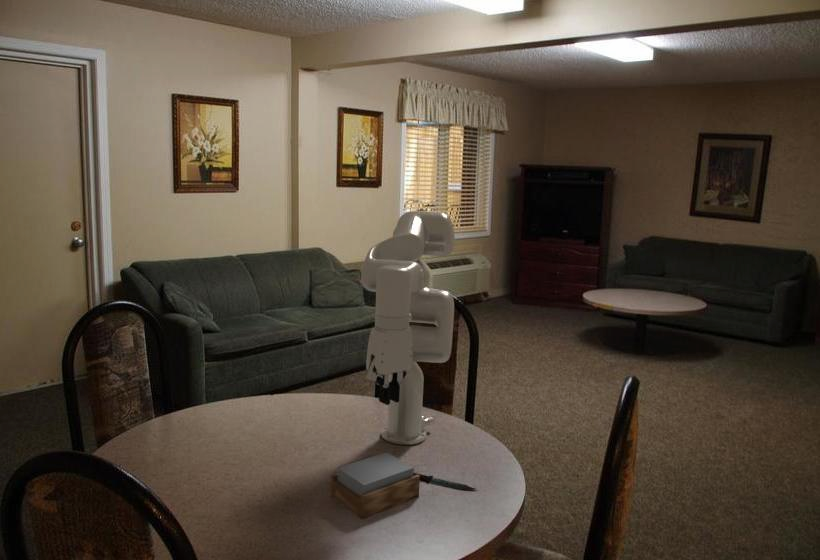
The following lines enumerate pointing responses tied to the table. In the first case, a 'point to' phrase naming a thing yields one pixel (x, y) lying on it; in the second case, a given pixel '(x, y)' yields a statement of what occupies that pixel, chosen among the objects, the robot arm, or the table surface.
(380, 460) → the cover plate
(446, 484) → the knife
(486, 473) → the table surface
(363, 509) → the walnut box
